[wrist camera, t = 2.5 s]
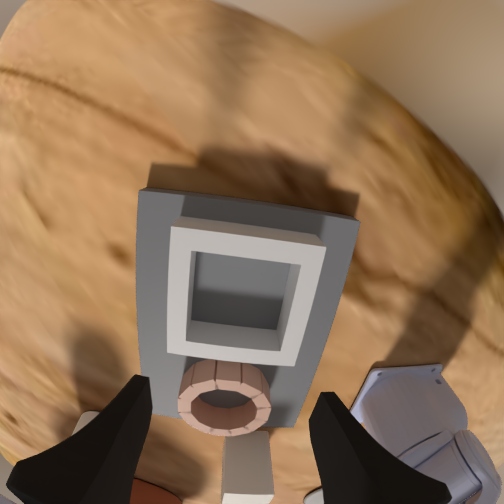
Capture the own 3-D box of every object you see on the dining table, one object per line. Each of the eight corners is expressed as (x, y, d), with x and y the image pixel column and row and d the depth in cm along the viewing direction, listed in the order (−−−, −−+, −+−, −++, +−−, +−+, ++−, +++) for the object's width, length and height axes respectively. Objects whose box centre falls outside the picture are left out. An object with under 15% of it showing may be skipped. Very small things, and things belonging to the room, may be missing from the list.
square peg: (268, 431, 27) (274, 494, 19) (261, 451, 28) (265, 508, 20) (226, 428, 26) (224, 493, 19) (222, 448, 28) (220, 507, 20)
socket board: (352, 216, 19) (376, 232, 16) (291, 416, 26) (296, 447, 22) (146, 187, 18) (123, 196, 14) (149, 401, 25) (140, 431, 21)
